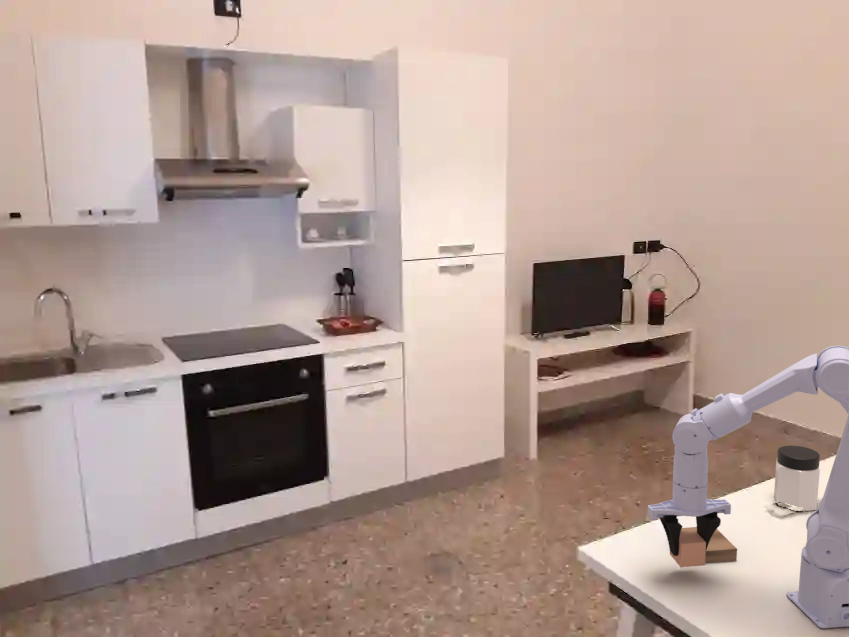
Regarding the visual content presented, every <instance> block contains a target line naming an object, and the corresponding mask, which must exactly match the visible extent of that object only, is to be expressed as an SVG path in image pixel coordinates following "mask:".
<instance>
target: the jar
mask: <svg viewBox="0 0 849 637" xmlns="http://www.w3.org/2000/svg"><path fill="white" fill-rule="evenodd" d="M776 456H777V457H776V460H775V461H776V462H775V464H776V465H775V475H774V476H775V477H774V491H773V497H774V498H773V499H774V501H776V502H783V503H787V504H790V505H794V506H797V507H803V508H804V510H806V511H805V512H810V511H816V510H817V508H818V497H819V496H818V495H819V487H820V486H819V485H820V473H821V471H820V460H821V455H820V453H819V452H817V451H816V450H814V449H812V448H808V447H806V446H799V445H785V446H780V447H779V448H777V455H776ZM776 502H775V503H776Z"/></svg>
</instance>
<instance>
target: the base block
mask: <svg viewBox="0 0 849 637" xmlns="http://www.w3.org/2000/svg"><path fill="white" fill-rule="evenodd" d="M687 530H695V531H696V532H697V526H692V527H691V526H689V527H682V529H681V531H687ZM737 554H738V547H736V546H735V545H734V544H733V543H732V542H731V541H730V540H729V539H728V538H727V537H726V536H725V534H723V533H722V532H721V531H720V530H719V529H718V528H717V529H716V530H715V532H714V533H713V535H712V537H711V539H710V541H709V544H708V547H707V550H706V553H705V564H713V563H727V561H729V562H737Z"/></svg>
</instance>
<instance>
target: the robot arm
mask: <svg viewBox="0 0 849 637" xmlns="http://www.w3.org/2000/svg"><path fill="white" fill-rule="evenodd" d="M818 388H819V389H820V390H821V391H822V392H823V393H824V394H825V395H827V396H828V397H830V399H833V400H835V401H836V402H838V403H839V404H840V406H842V408H843V409H844V410H845V411H846V413H847V414H848V416H847V419H846V422H845V426H844V429H843V431H842V435H841V439H840V442H839V445H838V449H837V451H836V454H835V457H834V461H833V464H832V468H831V470H830V474H829V477H828V480H827V484H826V486H825V490H824V493H823V497H822V498H821V499H820V500H819V503H818V505H817V509H816V510H814V511H813V512H812V513H811V514H810V515H809V516H808V517H807V519H806V524H805V526H806V530H807V531H806V536H807V537H806V543H805V545H804V547H803V548H801V557H800V567H799V569H800V570H799V580H798V581H799V582H798V590H797V591H788V592H786V596H787V598H789V599H790V601H791V602H793V603H794V604H795V605H796V606H797V607H798V609H800V610H801V611H802V612H803V614H805V615H806V616H807V617H808V618H809V619H810V621H812V622H813V623H814V624H815V626H817V627H818V628H820V629H832V628H833V629H834V628H843V627H849V347H848V346H846V345H845V346H844V345H832V346H828V347H826V348H824V349H823V350H821V352H819V354H818V353H817V352H815V353H813V354H810V355H809V356H808V355H807V357H804V358H802V359H801V360H799V361H797V362H796V363H793V364H792V365H790V366H789V367H787V368H785V369H783V370H782V371H780V372H778V373H777V374H775V375H774V376H772V377H770V378H769V379H766V380H765V381H764V382H762V383H760V384H758V385H756V386H755V387H754V388H753V387H752V388H751V389H750V390H748V391H746V392H745V393H743V394H737V393H734V392H730V393H727V394H725V395H724V393H719V394H718V395H716V396H715V397H714V401H712V402H711V403H709V404H707V405H705V406H703V407H701V408H699V409H698V408H694V409H692V410H691V411H690V413H688V414H685V415H682V416H681V417H680V418H679V420H678V422H676V425H675V427H674V428H673V431H672V437H671V438H672V443H673V444H674V455H673V467H672V470H673V471H672V473H673V474H672V499H670V500H665V501H662V502H659V503H655V504H648V505H647V516H648V518H650V519H651V520H652V521H655V520H656V521H657V520H658V518H659V521H660V522H661V525H662V527H663V529H664V532H665V535H666V539H667V542H668V543H667V544H668V548H669V552H670V551H671V553H672V554H673V555H674V556H678V553H679V537H680V532H681V529H682V528H683V525H682V524H681V523H680V522H679V518H678V517H695V522H696V523H695V524H696V527H697V533H698V534H699V535H700V536H701V538H702V539H703V540H704V541H705V542H706V550H707V547H708V544H709V541H710V539H711V537H712V535H713V533H714V532H715V530H716V529H717V530H718V528H719V527H720V526H721V521H722V519H721V518H720V517H719V516H718V514H724V515H731V512H732V511H731V510H732V508H731V507H732V504H731V503H730V502H729V501H728V500H727V499H713V498H708V480H709V478H708V476H709V474H708V472H709V457H708V445H709V443H710V442H711V441H717V440H718V439H720V438H722V437H723V438H724V436H726V435H728V434H730V433H733V432H735V431H736V430H738V429H740V428H742V427H744V426H746V425H747V424H749V423H751V421H752V417H753V416H752V415H753V413H754V412H756V411H759V410H760V409H763V408H765V407H768V405H771V404H773V403H776V402H779V401H780V400H782V399H784V398H786V397H788V396H791V395H792V394H795V393H797V392H799V393H803V394H809V395H818V392H819V391H818Z"/></svg>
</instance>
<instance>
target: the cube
mask: <svg viewBox="0 0 849 637" xmlns="http://www.w3.org/2000/svg"><path fill="white" fill-rule="evenodd" d="M705 553H706V542H705V541H704V540H703V539H702V538H701V536H700V535H699V534H698V533H697V532H696V531H695V530H687V531H681V532H680V537H679V553H678V556H674V555H673V554H672V553H671V551H670V550H669V555H670V556H671V558H672V559H673V560H674V562H676V564H677V565H678V566H679V567H680V568H689V567H690V568H691V567H700V566H706V563H705Z"/></svg>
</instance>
